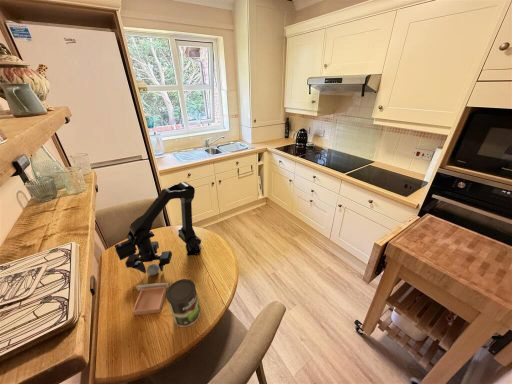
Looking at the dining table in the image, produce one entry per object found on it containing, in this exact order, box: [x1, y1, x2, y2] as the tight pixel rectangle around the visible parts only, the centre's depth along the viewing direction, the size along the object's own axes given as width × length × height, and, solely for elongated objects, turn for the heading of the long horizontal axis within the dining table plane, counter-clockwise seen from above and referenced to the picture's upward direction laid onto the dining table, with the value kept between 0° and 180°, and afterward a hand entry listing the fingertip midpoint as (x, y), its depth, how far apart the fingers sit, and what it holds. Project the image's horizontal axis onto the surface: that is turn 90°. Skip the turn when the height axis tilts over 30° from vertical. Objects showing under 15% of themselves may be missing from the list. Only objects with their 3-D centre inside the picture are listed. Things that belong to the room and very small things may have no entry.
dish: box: [131, 287, 168, 316], centre depth 88 cm, size 10×10×2 cm
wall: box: [135, 281, 169, 292], centre depth 93 cm, size 13×1×2 cm, turn 97°
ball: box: [146, 263, 160, 276], centre depth 100 cm, size 5×5×5 cm
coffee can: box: [165, 278, 201, 328], centre depth 80 cm, size 10×10×14 cm
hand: (153, 271), depth 101 cm, fingers open, 7 cm apart
